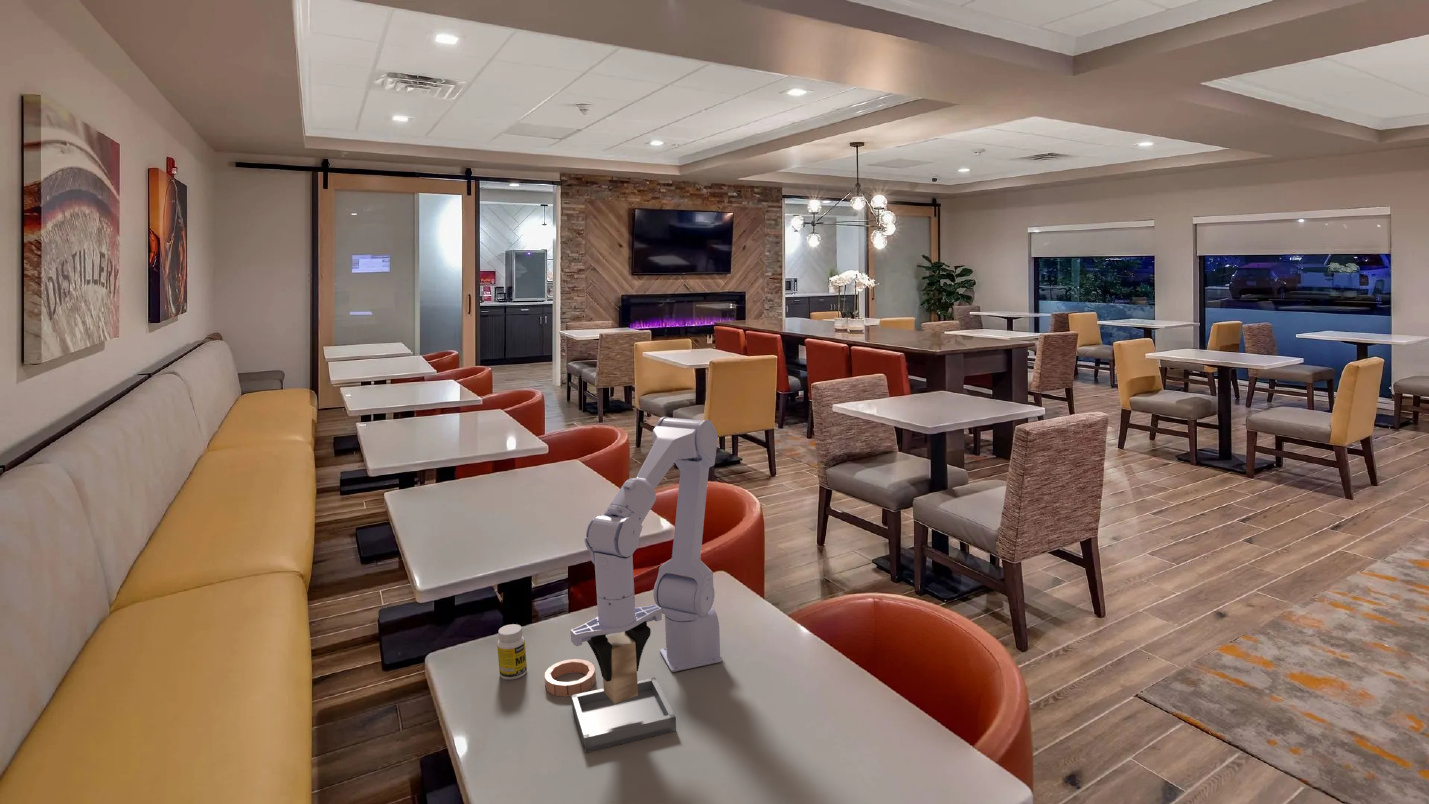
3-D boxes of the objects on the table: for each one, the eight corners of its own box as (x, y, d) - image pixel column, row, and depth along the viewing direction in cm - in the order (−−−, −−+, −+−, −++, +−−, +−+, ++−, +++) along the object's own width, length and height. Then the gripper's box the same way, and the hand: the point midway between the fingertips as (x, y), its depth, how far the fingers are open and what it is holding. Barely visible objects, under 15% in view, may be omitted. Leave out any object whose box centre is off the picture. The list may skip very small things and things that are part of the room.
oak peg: (626, 683, 120) (623, 631, 118) (638, 695, 117) (635, 642, 115) (603, 692, 118) (600, 639, 116) (614, 703, 115) (611, 649, 113)
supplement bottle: (519, 681, 130) (516, 636, 128) (494, 679, 131) (490, 634, 129) (531, 667, 134) (528, 623, 133) (507, 665, 135) (503, 622, 134)
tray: (655, 690, 126) (655, 677, 125) (676, 730, 115) (675, 716, 114) (572, 708, 121) (571, 695, 121) (585, 752, 110) (584, 738, 110)
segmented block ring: (590, 665, 134) (589, 655, 134) (599, 689, 127) (598, 679, 126) (543, 675, 132) (542, 664, 131) (549, 700, 124) (548, 689, 123)
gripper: (645, 572, 121) (649, 649, 124) (560, 595, 114) (566, 677, 116) (666, 586, 115) (670, 667, 118) (578, 612, 108) (584, 698, 110)
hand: (620, 673), depth 117 cm, fingers closed on oak peg, 4 cm apart
